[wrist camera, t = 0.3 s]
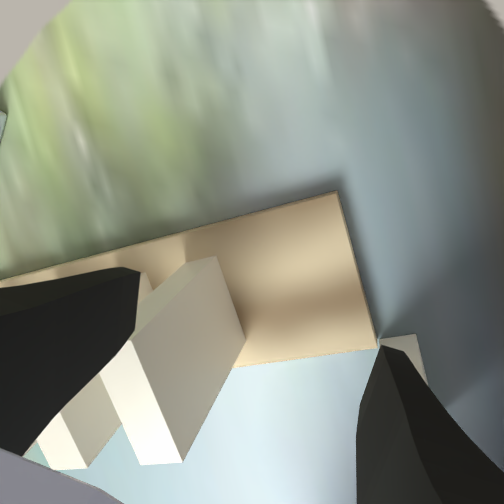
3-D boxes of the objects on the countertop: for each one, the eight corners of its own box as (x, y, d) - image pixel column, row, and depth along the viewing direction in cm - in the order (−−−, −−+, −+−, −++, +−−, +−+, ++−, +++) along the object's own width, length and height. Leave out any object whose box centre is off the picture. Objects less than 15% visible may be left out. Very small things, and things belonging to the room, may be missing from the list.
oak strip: (377, 339, 22) (377, 347, 21) (27, 390, 30) (19, 397, 29) (337, 190, 20) (335, 193, 19) (-25, 286, 28) (-36, 291, 27)
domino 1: (177, 352, 25) (87, 468, 17) (150, 356, 25) (52, 470, 17) (145, 272, 23) (32, 357, 16) (118, 278, 24) (-3, 363, 16)
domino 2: (246, 340, 23) (182, 462, 15) (216, 345, 24) (140, 465, 16) (216, 255, 22) (130, 340, 14) (185, 262, 22) (87, 347, 15)
